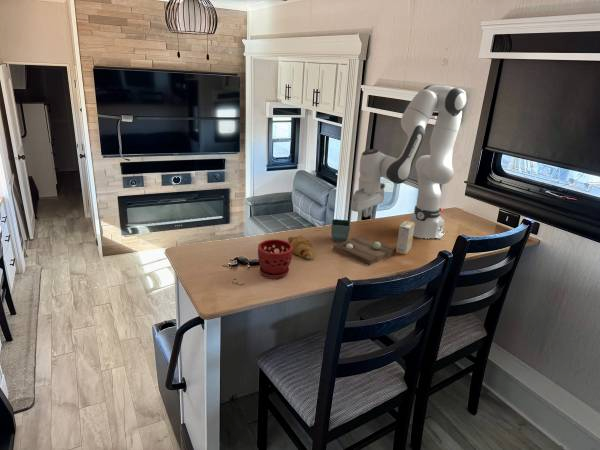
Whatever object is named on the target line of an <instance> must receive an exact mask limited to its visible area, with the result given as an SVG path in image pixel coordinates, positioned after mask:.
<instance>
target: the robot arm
mask: <svg viewBox="0 0 600 450" xmlns="http://www.w3.org/2000/svg"><path fill="white" fill-rule="evenodd" d="M467 101H468V96H467V93H466V91H465V90H463V89H462V88H460V87H454V86H451V85H450V86H449V85H436V84H430V85H426V86H425V87H424V88H423V89H422V90H419V91H418V92H417V93H416V94H415V95H414V97H413V98H412V100H411V101H409V104H408V105H407V107H406V109H405V111H404V112H403V114H402V116H401V119H400V126H401V128H402V130H403V131H404V133H405V134H406V136H407V139H406V142H405V144H404V147H403V150H402V152H401V154H400V156H399V157H398V158H396V157H394V156H391V155H387V154H385V153H383V152H382V151H380V150H379V149H376V148H372V149H371V148H369V149H366V150H364V151H362V153H361V155H360V158H359V159H360V160H359V170H358V171H359V178H358V189H356V190H355V192H354V193H353V194H352V198H351V204H350V209H351V211H353V212H356V213H359V212H362V213H363V217H364V218H368V217H371V215H372V214H371V213H372V210H373V207H375V206H376V205H379V204H382V203H383V202H384V200H385V189H386V184H385V183H383V182H380V179H381V178H384V179H386V180H388V181H390V182H392V183H393V184H396V185H400V184H402V183H404V182H405V181H407V180H408V179H409V178H410V175H411V172H412V169H413V168H412V167H413V164H414V162H415V161H416V162H415V169H416V175H417V198H416V205H415V206H414V211H413V214H412V215H411V217H410V221H409V222H413V223H415V226H414V233H413V237H415V238H418V239H419V238H420V239H423V238H425V239H426V240H430V239H429V238H437V239H436V240H439V239H440V238H441V237H442V236H443V235H444V234H445V233H444V234H443V233H441V232H442V231H443V229H444V228H445V219H443V217H441V212H443V207H440V205H441V200H442V189H441V186H440V185H445V184H448V183H449V182H450V181H451V180H452V179H453V177H454V174H455V172H454V167H453V155H454V153H453V152H454V146H455V143H456V140H457V136H458V133H459V130H460V126H461V121H462V115H463V110H464V109H465V107H466V105H467ZM434 112H438V115H437V118H436V120H435V122H434V126H433V129H432V132H431V136H430V138H429V139H430V140H429V147H430V152H429V154H424V155H420V157H418V158H417V156H418V153H419V151H420V149H421V147H422V145H423V141H424V140H425V137H426V127H427V125H428V122H429V121H430V119H431V117H432V116H433V113H434ZM416 158H417V160H416ZM445 235H446V234H445ZM445 235H444V236H445ZM444 236H443V237H444ZM443 237H442V238H443ZM427 238H428V239H427ZM425 239H424V240H425ZM440 240H441V239H440Z"/></svg>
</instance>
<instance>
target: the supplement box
mask: <svg viewBox="0 0 600 450" xmlns="http://www.w3.org/2000/svg"><path fill="white" fill-rule="evenodd" d="M414 226H415V223H413V222H410V221H408V220H404V221H403V222H402V223H401V224H400V225H399V228H398V236H397V244H396V251H395V253H396V254H401V255H404V256H406V255H407V254H409V252H410V251H411V249H412V245H413V238H414V236H413V233H414Z"/></svg>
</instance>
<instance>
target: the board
mask: <svg viewBox="0 0 600 450" xmlns="http://www.w3.org/2000/svg"><path fill="white" fill-rule="evenodd" d="M375 242H376V241H373V240H370V239H367V238H364V237H361V236H359V235H357V236H354V237H351V238H349V239H347V240H346V241H343V242H338V243H336V244H333V245H332V252H335V253H338V254H341V255H343V256H345V257H347V258H350V259H352V260H355V261H357V262H360V263H362V264H365V265H367V266H368V267H369V266H371V265H374V264H376V263H378V262H380V261H382V260H384V259H386V258H389V257H390V256H393V255H394V252H395V249H394V248H391V247H389V246H387V245H384V244H381V248H380V249H375V248H374V247H373V244H374V243H375ZM347 244H352V245H353V248H351V249H349V248H346V245H347Z"/></svg>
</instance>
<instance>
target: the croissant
mask: <svg viewBox="0 0 600 450" xmlns="http://www.w3.org/2000/svg"><path fill="white" fill-rule="evenodd" d="M287 242H288V243H290V244H291V245H292V255H293V254H294V255H296V256H299V257H301V258H305V260H312V259H314V248H313V246H312V244H311V242H310V240H309V239H308V238H307V237H304V236H302V235H299V236H295V237H291V236H290V237H288V241H287Z"/></svg>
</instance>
